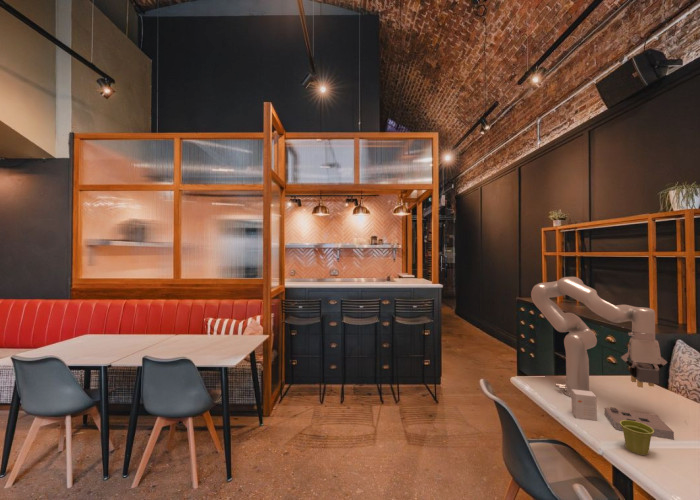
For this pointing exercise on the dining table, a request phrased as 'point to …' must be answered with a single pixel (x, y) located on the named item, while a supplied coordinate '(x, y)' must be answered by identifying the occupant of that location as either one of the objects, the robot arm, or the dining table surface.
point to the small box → (584, 404)
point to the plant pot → (637, 436)
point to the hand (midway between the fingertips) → (643, 376)
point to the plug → (645, 375)
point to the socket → (647, 419)
